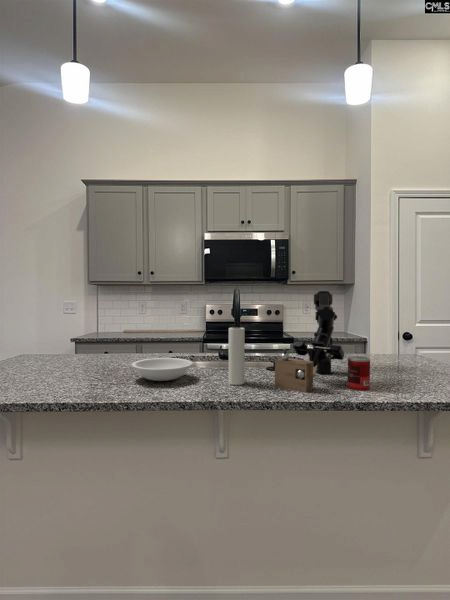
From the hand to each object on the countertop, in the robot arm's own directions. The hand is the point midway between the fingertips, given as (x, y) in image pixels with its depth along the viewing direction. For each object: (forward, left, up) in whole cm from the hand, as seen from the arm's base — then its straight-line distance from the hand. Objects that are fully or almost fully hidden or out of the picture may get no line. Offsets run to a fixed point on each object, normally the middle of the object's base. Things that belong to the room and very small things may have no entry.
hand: (311, 368), depth 143 cm
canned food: (+7, +16, -7) cm, 18 cm away
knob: (+3, -4, -3) cm, 6 cm away
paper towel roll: (-13, -24, -7) cm, 28 cm away
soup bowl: (-28, -50, -7) cm, 58 cm away
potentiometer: (-2, -10, +3) cm, 11 cm away
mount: (0, -7, -7) cm, 10 cm away
